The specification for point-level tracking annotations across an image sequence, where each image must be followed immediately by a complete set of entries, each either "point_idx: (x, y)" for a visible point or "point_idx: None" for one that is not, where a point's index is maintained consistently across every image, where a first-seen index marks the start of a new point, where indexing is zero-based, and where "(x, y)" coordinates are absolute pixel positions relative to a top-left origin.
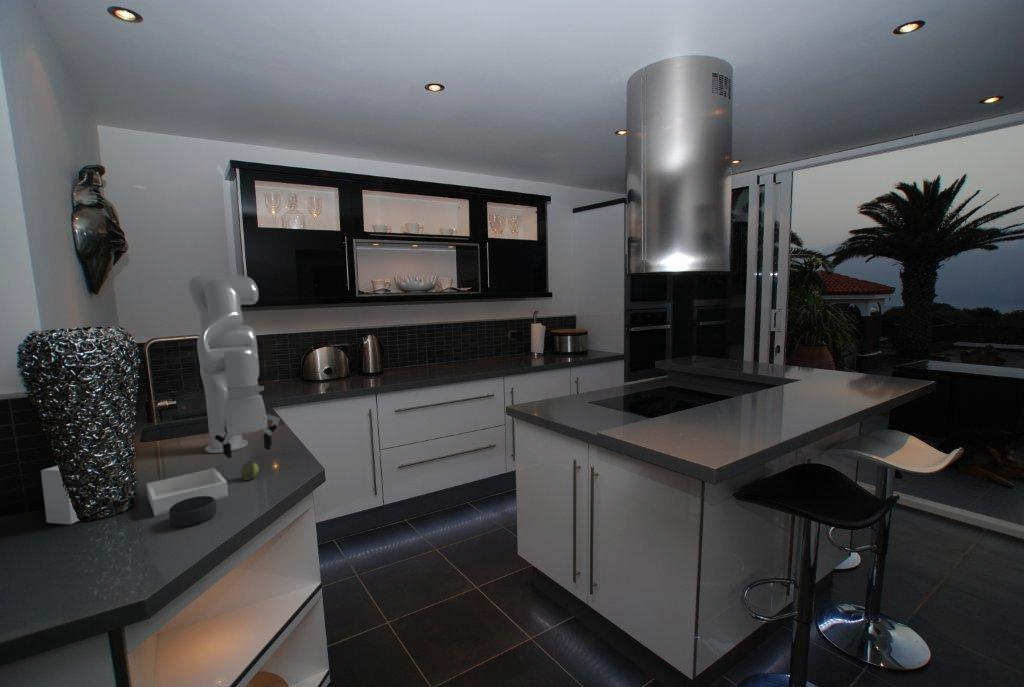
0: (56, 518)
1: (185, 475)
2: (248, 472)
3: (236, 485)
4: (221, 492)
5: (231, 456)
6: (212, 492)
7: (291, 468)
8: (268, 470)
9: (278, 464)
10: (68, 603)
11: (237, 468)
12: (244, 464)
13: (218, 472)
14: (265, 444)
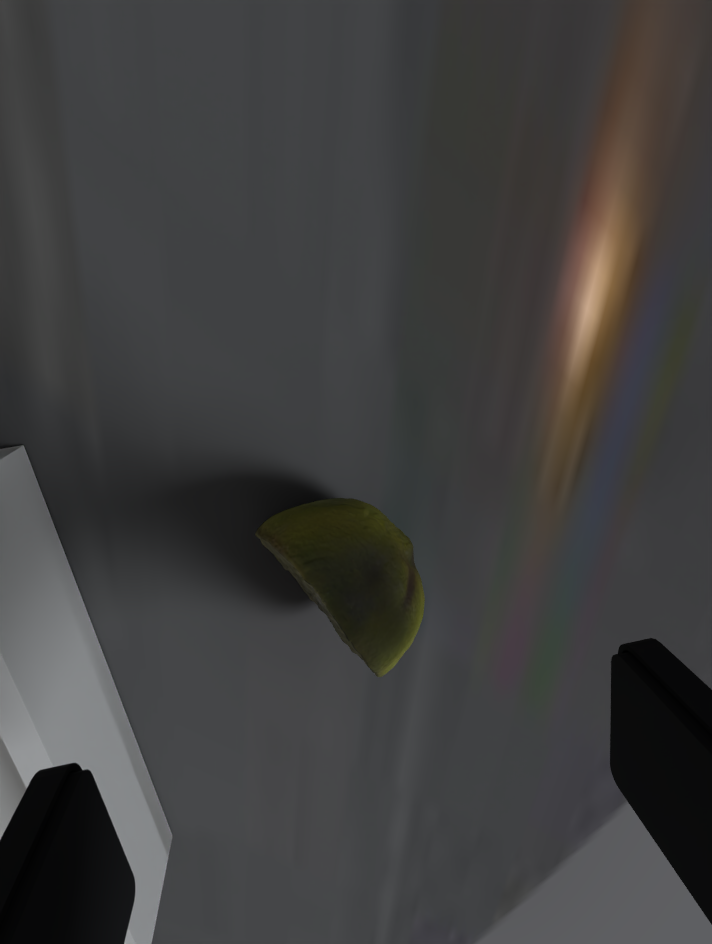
0: None
1: None
2: (322, 609)
3: (218, 647)
4: None
5: (132, 904)
6: None
7: (666, 483)
8: (500, 406)
9: (625, 259)
10: None
11: (214, 43)
12: (296, 569)
13: (22, 707)
14: (657, 769)
